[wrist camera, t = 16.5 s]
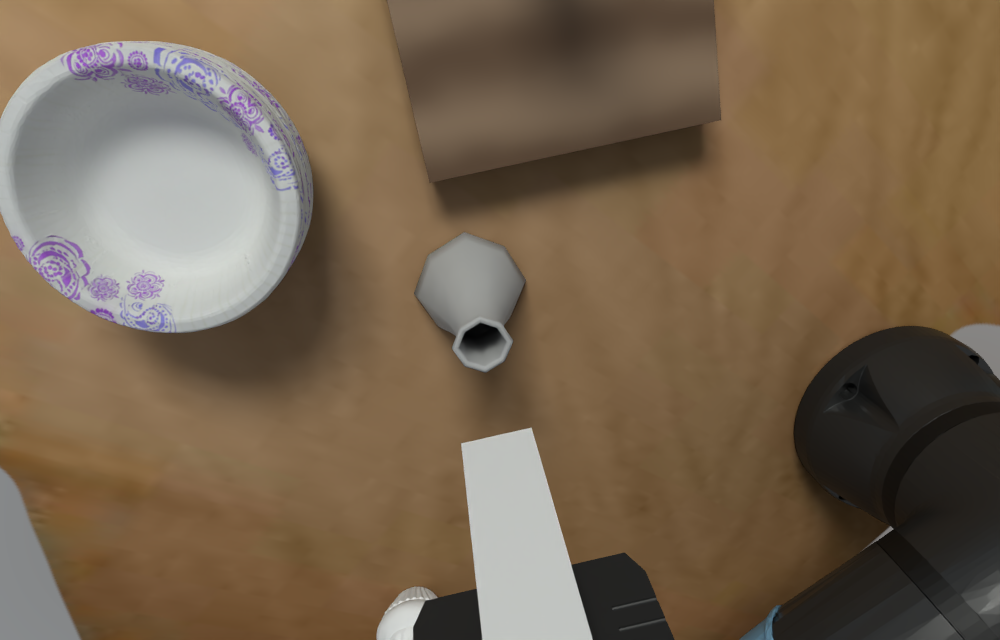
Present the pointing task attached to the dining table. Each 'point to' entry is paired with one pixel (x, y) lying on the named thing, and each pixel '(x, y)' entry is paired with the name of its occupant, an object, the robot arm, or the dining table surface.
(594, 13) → the board
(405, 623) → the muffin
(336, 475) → the dining table surface
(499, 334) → the flask
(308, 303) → the dining table surface
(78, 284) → the paper bowls
